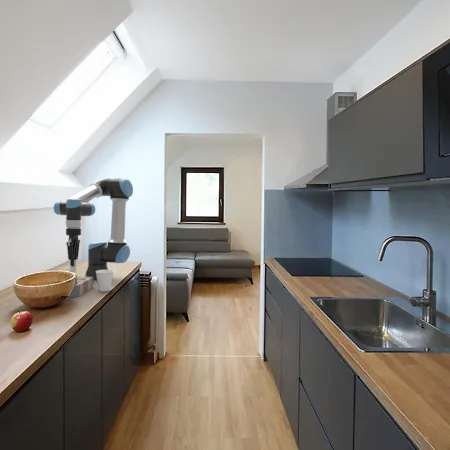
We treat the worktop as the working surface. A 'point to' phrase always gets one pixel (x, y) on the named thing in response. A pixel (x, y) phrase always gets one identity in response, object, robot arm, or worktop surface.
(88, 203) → the robot arm
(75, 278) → the peg
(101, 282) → the cup
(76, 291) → the block
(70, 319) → the worktop surface
